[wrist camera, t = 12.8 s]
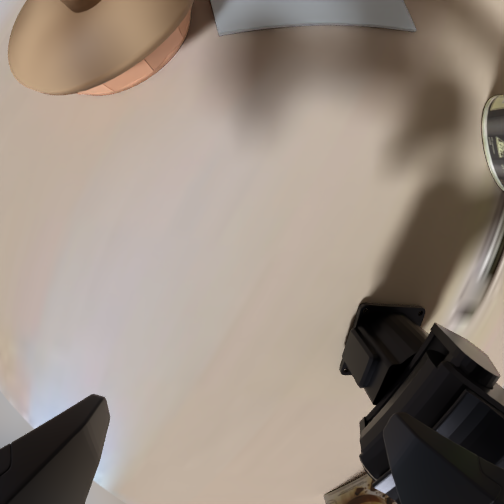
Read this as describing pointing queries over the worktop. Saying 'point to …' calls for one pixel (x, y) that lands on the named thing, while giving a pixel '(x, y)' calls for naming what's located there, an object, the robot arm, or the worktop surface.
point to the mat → (309, 14)
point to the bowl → (145, 63)
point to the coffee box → (358, 493)
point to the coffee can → (494, 137)
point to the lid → (87, 40)
